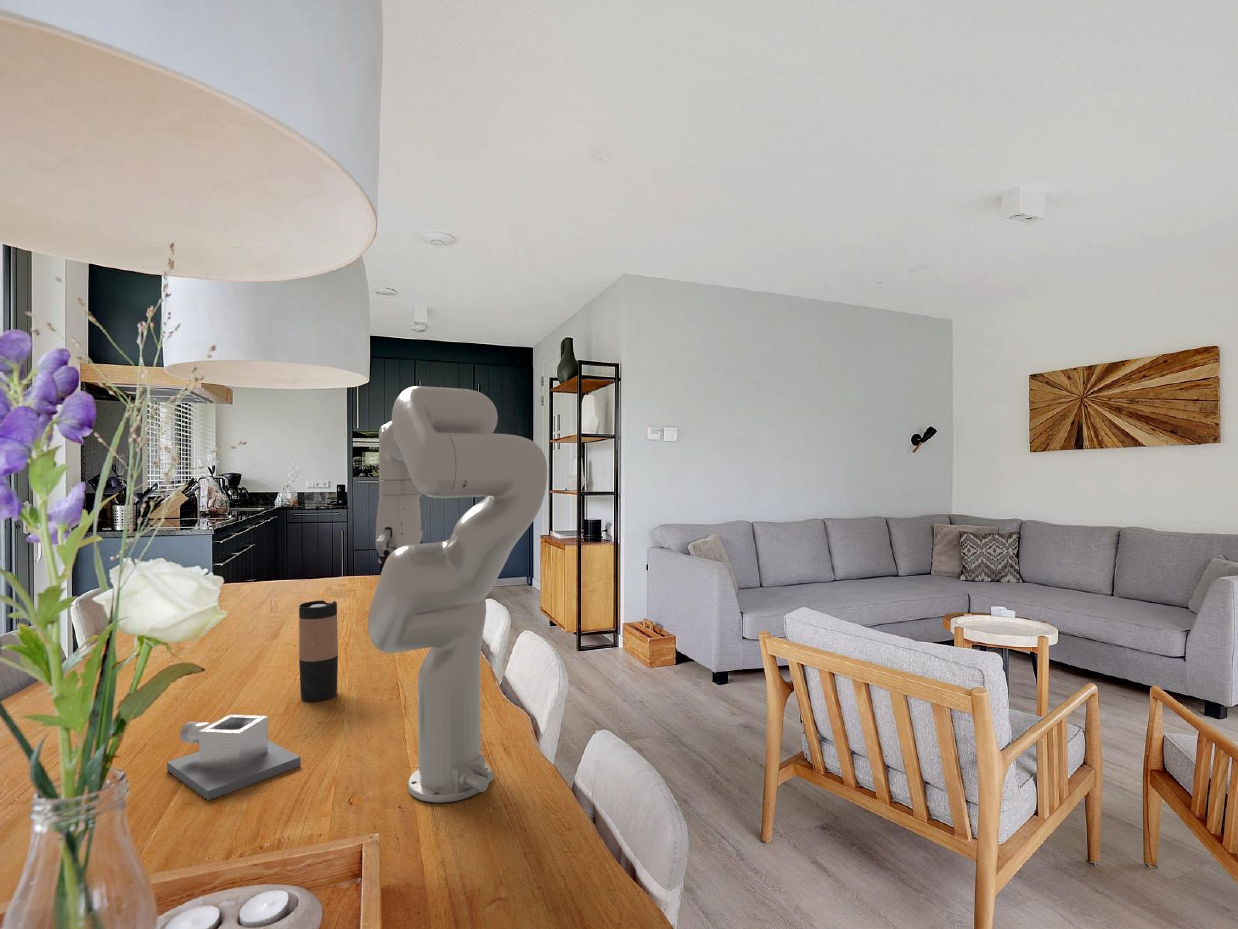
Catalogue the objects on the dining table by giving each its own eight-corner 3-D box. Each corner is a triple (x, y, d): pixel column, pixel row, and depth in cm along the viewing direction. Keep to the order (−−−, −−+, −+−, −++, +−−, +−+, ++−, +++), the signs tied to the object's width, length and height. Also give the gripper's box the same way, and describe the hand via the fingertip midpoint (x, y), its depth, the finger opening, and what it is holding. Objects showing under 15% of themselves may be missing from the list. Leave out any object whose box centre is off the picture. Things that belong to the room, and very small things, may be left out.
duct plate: (300, 766, 110) (300, 730, 110) (208, 801, 99) (207, 761, 99) (255, 741, 120) (255, 708, 120) (167, 771, 108) (166, 734, 108)
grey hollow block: (267, 751, 112) (267, 716, 112) (239, 770, 105) (239, 733, 105) (203, 748, 114) (202, 713, 114) (171, 767, 107) (170, 730, 107)
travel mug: (301, 705, 137) (300, 609, 137) (297, 694, 144) (296, 602, 144) (341, 698, 141) (340, 605, 141) (335, 687, 148) (334, 598, 148)
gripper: (402, 487, 133) (402, 572, 133) (358, 491, 116) (358, 588, 116) (437, 487, 132) (438, 572, 132) (398, 491, 115) (399, 589, 115)
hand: (401, 580), depth 124 cm, fingers open, 9 cm apart
